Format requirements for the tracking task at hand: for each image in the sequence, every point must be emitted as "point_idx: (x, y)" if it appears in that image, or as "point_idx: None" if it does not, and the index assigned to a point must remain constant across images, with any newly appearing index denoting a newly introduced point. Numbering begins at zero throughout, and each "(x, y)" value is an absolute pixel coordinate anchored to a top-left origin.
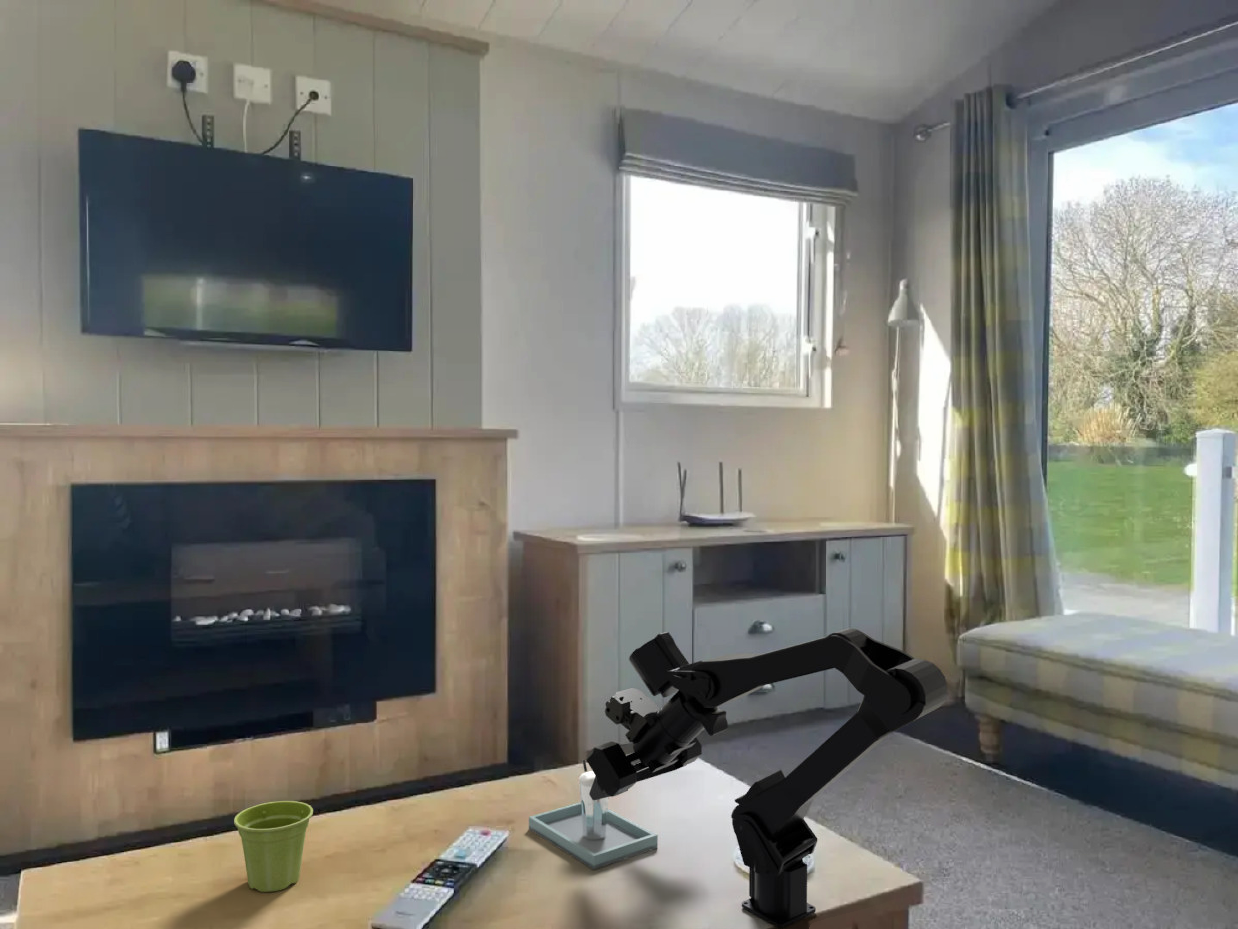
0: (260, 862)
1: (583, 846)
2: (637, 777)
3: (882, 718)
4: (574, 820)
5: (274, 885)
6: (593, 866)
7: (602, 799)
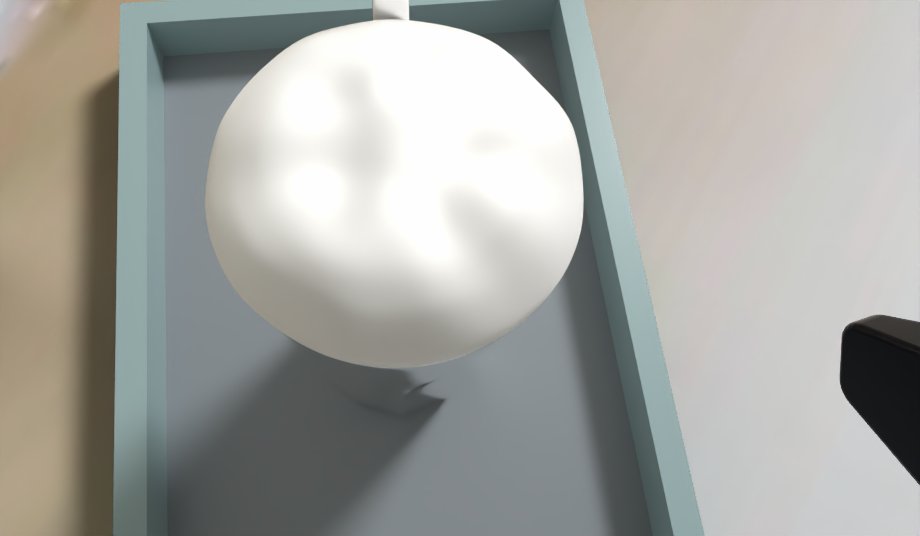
0: None
1: (252, 448)
2: (881, 392)
3: None
4: None
5: None
6: None
7: (402, 384)
